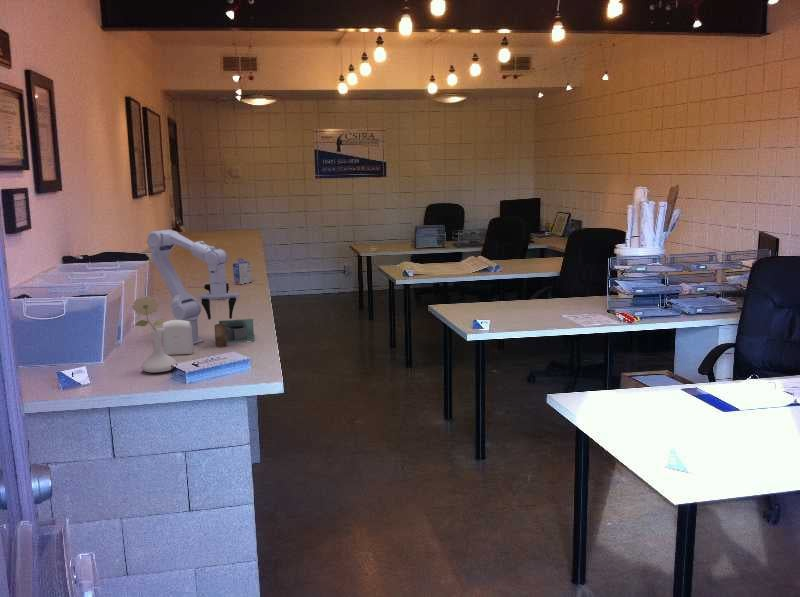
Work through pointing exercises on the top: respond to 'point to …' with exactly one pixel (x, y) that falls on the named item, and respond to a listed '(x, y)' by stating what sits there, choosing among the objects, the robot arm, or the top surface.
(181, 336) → the photo printer
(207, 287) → the controller
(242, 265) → the ink cartridge box
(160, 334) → the flower in vase
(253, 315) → the top surface
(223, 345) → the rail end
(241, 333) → the cup bracket
